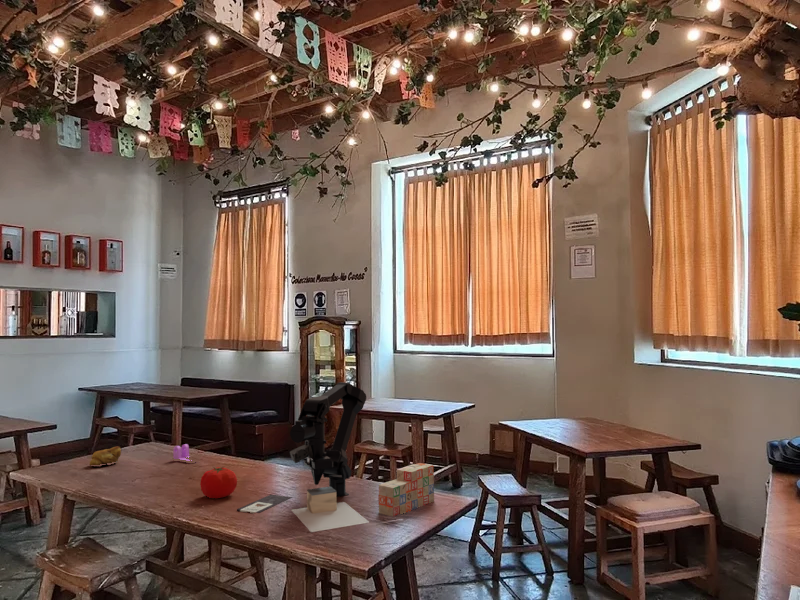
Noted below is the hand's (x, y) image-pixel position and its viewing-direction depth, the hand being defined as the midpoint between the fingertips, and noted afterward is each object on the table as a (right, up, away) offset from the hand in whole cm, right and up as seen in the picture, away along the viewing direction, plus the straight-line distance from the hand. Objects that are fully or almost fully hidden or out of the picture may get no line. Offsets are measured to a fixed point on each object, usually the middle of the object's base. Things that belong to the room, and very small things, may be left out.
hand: (316, 484), depth 191 cm
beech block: (+3, -6, -6) cm, 9 cm away
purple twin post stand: (-68, -12, +68) cm, 97 cm away
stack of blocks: (+30, -6, -4) cm, 31 cm away
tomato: (-36, -8, +11) cm, 39 cm away
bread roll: (-104, -12, +63) cm, 122 cm away
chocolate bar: (-17, -8, +1) cm, 19 cm away
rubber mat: (+6, -6, -13) cm, 15 cm away
